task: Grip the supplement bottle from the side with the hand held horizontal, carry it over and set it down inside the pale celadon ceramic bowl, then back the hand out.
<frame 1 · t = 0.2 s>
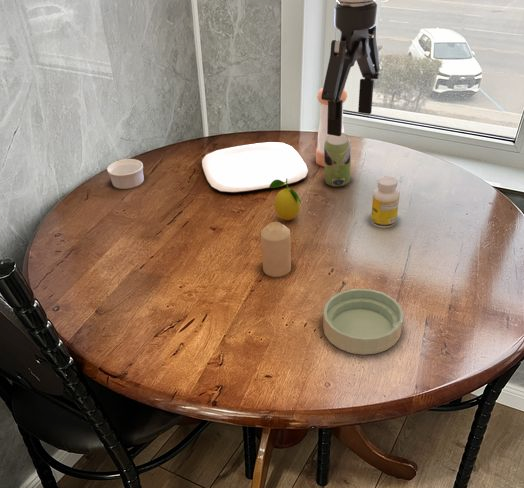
hand: (350, 123, 111), 18 cm above the table, tool pointing down, fingers open, 13 cm apart
ramekin: (128, 183, 137), on the table
plate: (254, 171, 138), on the table
pepper shaker: (329, 163, 140), on the table
bowl: (361, 330, 92), on the table
supplement bottle: (383, 223, 117), on the table
candle: (277, 271, 107), on the table
lemon: (286, 221, 120), on the table
beverage can: (336, 185, 131), on the table
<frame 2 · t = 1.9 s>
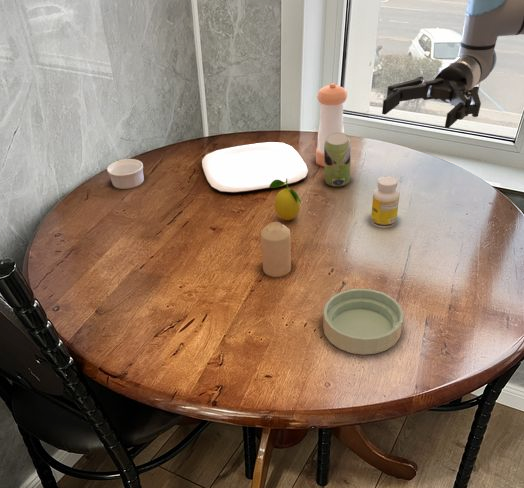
hand: (415, 114, 108), 20 cm above the table, tool horizontal, fingers open, 13 cm apart
nothing on the table moved.
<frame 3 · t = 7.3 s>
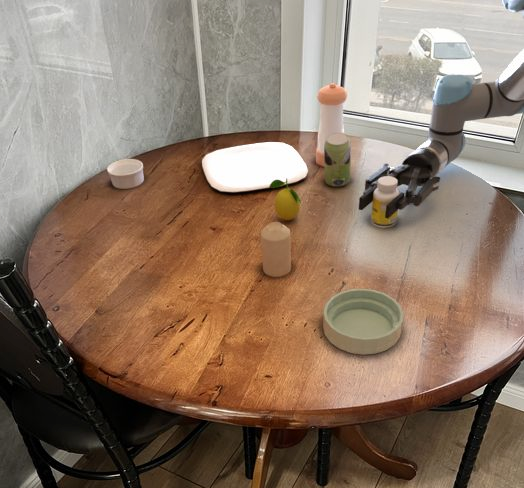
hand: (373, 208, 110), 6 cm above the table, tool horizontal, fingers closed on supplement bottle, 5 cm apart
supplement bottle: (383, 223, 117), on the table, touching gripper
everything else where it was.
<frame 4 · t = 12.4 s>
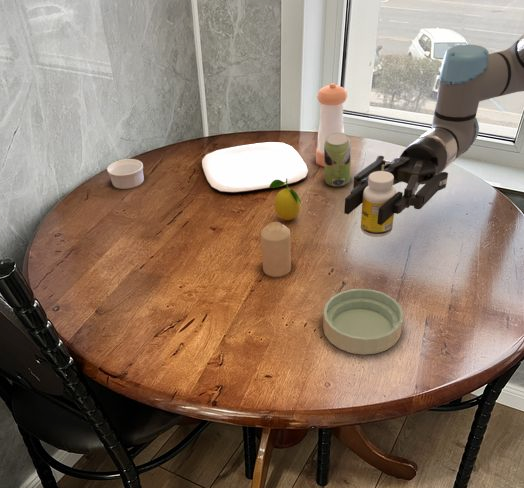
hand: (363, 211, 86), 18 cm above the table, tool horizontal, fingers closed on supplement bottle, 5 cm apart
supplement bottle: (375, 230, 93), point 12 cm above the table, touching gripper
everything else where it was.
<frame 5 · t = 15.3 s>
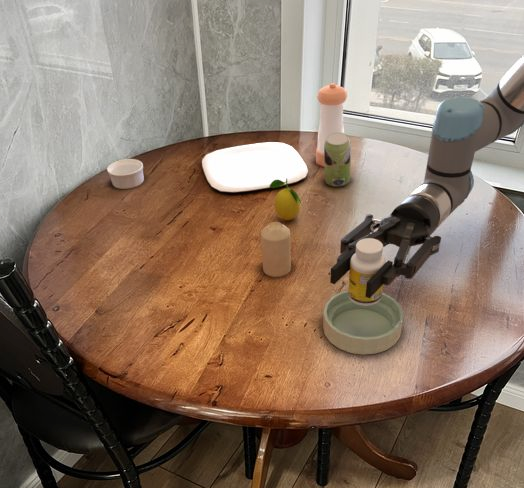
hand: (350, 283, 80), 13 cm above the table, tool horizontal, fingers closed on supplement bottle, 5 cm apart
supplement bottle: (364, 297, 88), point 7 cm above the table, touching gripper
everything else where it was.
when the fingers open (7 cm above the table, at t = 17.5 s): supplement bottle stays where it is, resting on bowl.
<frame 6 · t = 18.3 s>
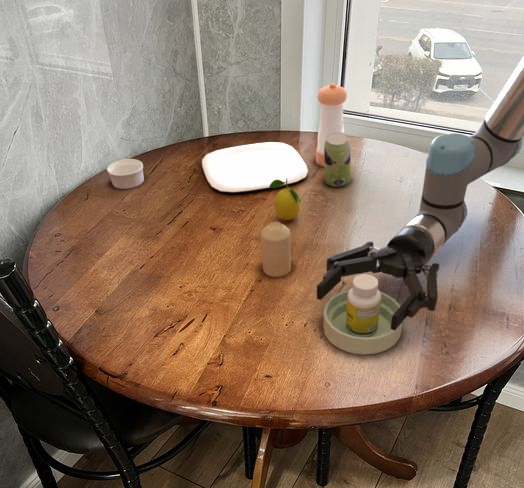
hand: (354, 307, 86), 7 cm above the table, tool horizontal, fingers open, 13 cm apart
supplement bottle: (361, 328, 92), resting on bowl
everything else where it was.
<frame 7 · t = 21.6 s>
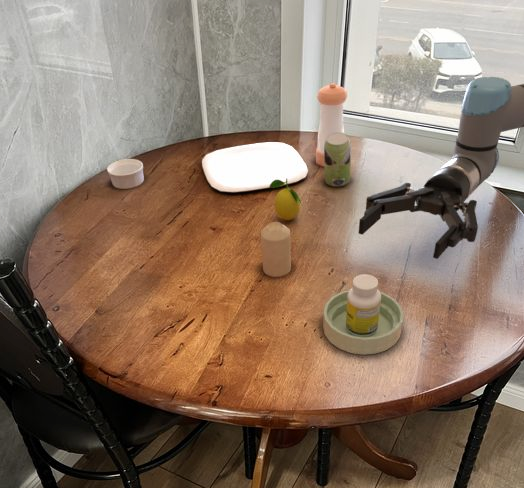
hand: (397, 238, 89), 13 cm above the table, tool horizontal, fingers open, 13 cm apart
nothing on the table moved.
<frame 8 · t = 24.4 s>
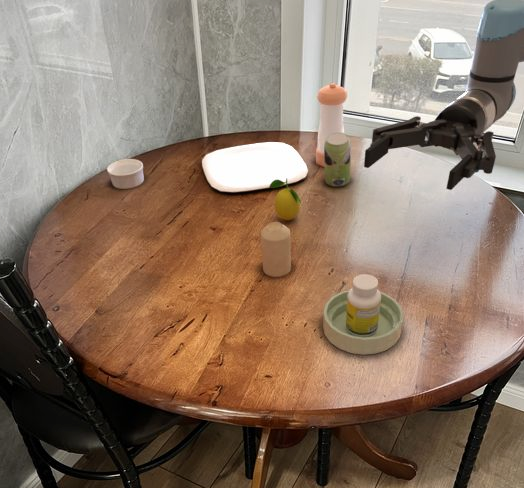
hand: (406, 169, 81), 25 cm above the table, tool horizontal, fingers open, 13 cm apart
nothing on the table moved.
at the end: supplement bottle inside the target area in the bowl (0.1 cm from its centre), point 0.4 cm above the bowl's base; the gripper is holding nothing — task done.
